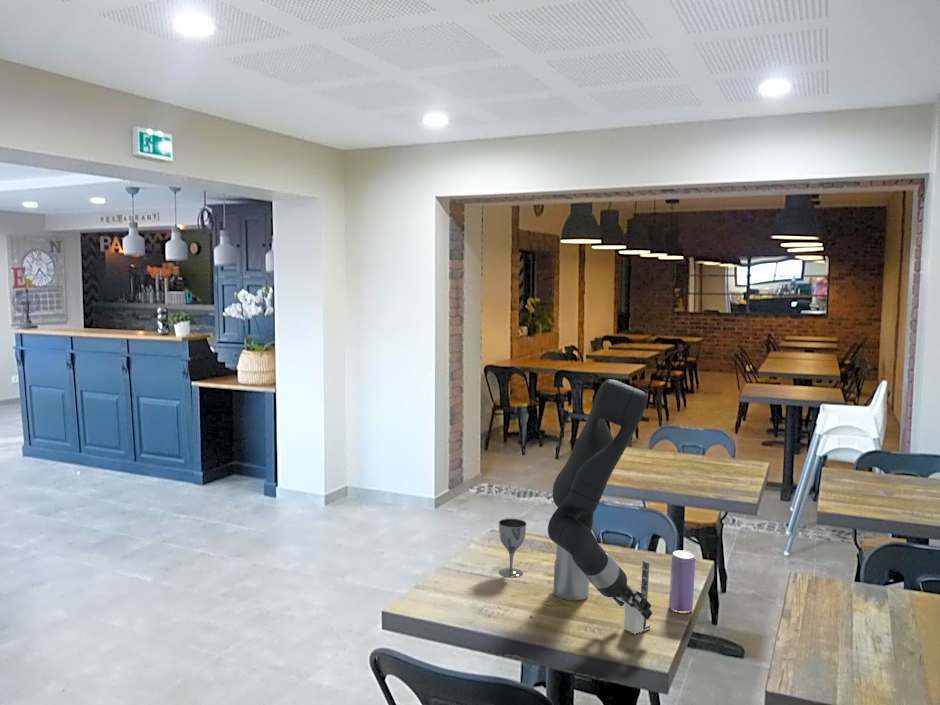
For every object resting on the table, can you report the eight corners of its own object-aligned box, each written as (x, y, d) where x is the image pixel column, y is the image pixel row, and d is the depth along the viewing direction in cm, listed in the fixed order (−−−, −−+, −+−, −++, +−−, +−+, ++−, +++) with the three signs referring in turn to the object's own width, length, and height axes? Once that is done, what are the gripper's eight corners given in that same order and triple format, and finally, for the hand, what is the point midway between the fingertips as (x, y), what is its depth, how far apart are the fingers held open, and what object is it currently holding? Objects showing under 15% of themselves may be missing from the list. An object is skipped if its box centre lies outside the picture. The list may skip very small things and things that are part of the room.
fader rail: (644, 631, 185) (647, 564, 184) (635, 626, 188) (638, 560, 186) (649, 629, 186) (653, 562, 185) (640, 624, 189) (644, 559, 187)
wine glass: (529, 571, 221) (531, 522, 220) (516, 580, 214) (518, 529, 213) (505, 565, 225) (507, 516, 224) (492, 573, 219) (493, 523, 217)
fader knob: (634, 634, 183) (636, 597, 182) (623, 628, 186) (625, 592, 185) (643, 631, 185) (645, 595, 184) (632, 625, 188) (634, 589, 187)
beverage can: (693, 615, 195) (696, 559, 194) (669, 612, 196) (672, 557, 195) (691, 605, 201) (694, 551, 199) (668, 603, 202) (671, 549, 201)
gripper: (635, 570, 173) (666, 607, 180) (591, 550, 185) (623, 586, 192) (617, 597, 170) (649, 633, 178) (574, 576, 182) (606, 611, 190)
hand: (635, 609), depth 185 cm, fingers open, 8 cm apart
